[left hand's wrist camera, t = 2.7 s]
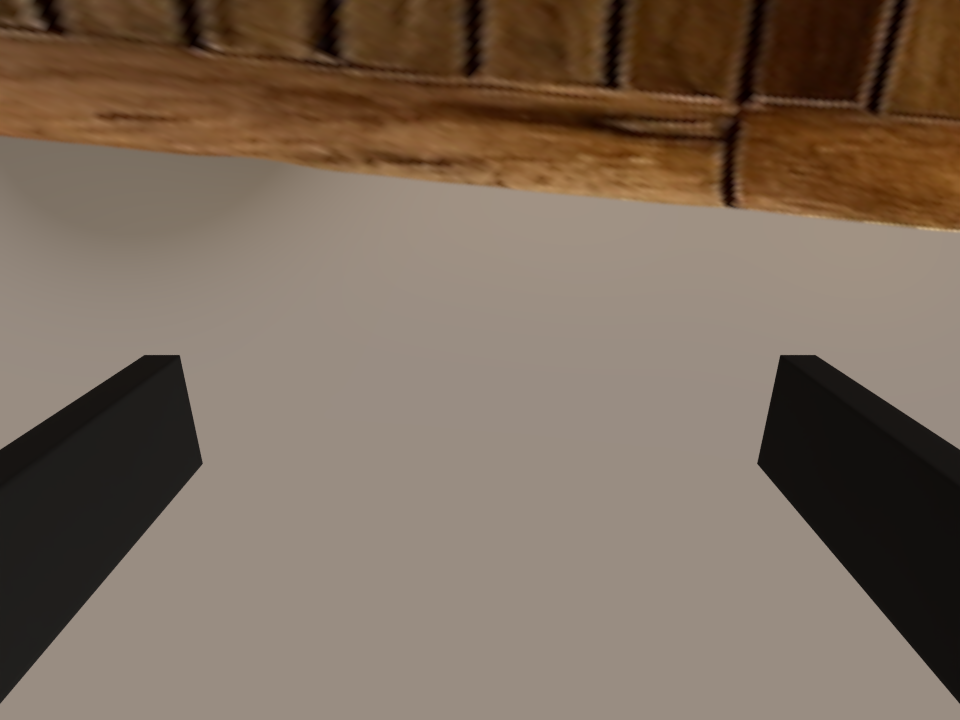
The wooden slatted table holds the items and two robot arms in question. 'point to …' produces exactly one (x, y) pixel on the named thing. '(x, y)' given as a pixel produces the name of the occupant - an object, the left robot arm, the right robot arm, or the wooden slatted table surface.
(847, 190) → the wooden slatted table surface
